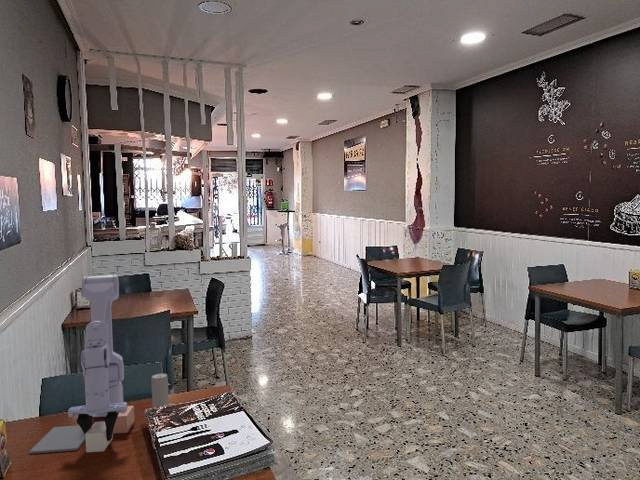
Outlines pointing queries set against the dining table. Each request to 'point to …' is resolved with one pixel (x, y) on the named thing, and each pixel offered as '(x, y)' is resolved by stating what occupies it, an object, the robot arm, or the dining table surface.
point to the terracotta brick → (124, 421)
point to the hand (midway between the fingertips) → (99, 440)
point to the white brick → (97, 438)
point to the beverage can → (160, 390)
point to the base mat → (60, 440)
